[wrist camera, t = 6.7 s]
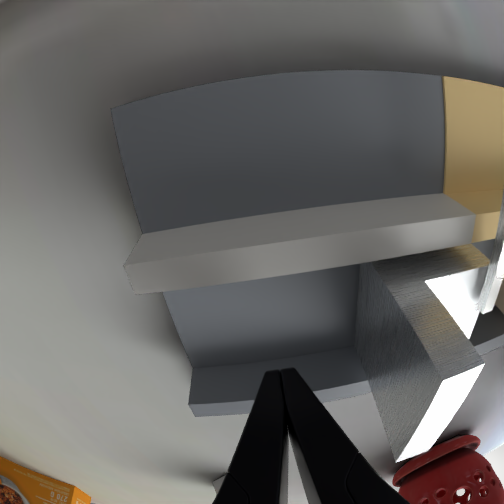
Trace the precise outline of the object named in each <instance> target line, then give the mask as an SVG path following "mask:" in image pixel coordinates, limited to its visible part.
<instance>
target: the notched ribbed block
mask: <svg viewBox="0 0 504 504" xmlns="http://www.w3.org/2000/svg"><path fill="white" fill-rule="evenodd" d="M503 277H504V189H503V197H502V204H501V210H500V216H499V222H498V227H497V233H496V237H495V242H494V247H493V251H492V255H491V259H490V260H489V259H488V258H487V257H486V256H485V255H484V254H483V253H482V252H480V251H479V250H478V249H477V248H476V247H475V246H473V245H472V244H471V243H470V244H465V245H460V246H454V247H449V248H444V249H439V250H433V251H428V252H422V253H417V254H411V255H406V256H400V257H394V258H389V259H383V260H377V261H371V262H365V263H360V265H359V285H358V301H357V314H356V325H355V336H354V346H355V348H356V351H357V354H358V356H359V359H360V361H361V364H362V367H363V369H364V372H365V375H366V377H367V380H368V383H369V386H370V388H371V391H372V394H373V397H374V399H375V402H376V405H377V408H378V411H379V414H380V417H381V419H382V422H383V425H384V428H385V431H386V434H387V437H388V440H389V444H390V447H391V450H392V453H393V456H394V459H395V462H399V461H402V460H405V459H408V458H410V457H413V456H416V455H419V454H421V453H424V452H427V451H428V450H429V449H430V448H431V447H432V445H433V444H434V443H435V441H436V440H437V439H438V437H439V436H440V435H441V433H442V432H443V431H444V429H445V428H446V426H447V425H448V423H449V422H450V421H451V419H452V418H453V416H454V415H455V413H456V412H457V410H458V409H459V407H460V405H461V404H462V402H463V401H464V399H465V398H466V396H467V394H468V393H469V391H470V389H471V388H472V386H473V384H474V382H475V381H476V379H477V377H478V375H479V373H480V372H481V370H482V368H483V366H484V364H485V363H484V361H483V360H482V358H481V357H480V355H479V354H478V352H477V351H476V349H475V348H474V346H473V345H472V343H471V342H470V341H469V338H470V336H471V333H472V330H473V328H474V325H475V323H476V320H477V317H478V314H479V312H481V313H482V314H484V313H487V312H490V311H492V310H493V307H494V304H495V301H496V298H497V296H498V293H499V290H500V287H501V283H502V280H503Z"/></svg>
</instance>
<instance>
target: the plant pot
mask: <svg viewBox="0 0 504 504" xmlns="http://www.w3.org/2000/svg"><path fill="white" fill-rule="evenodd" d="M479 445H480V439H479V438H478V437H476V436H473V435H463V436H459V435H458V436H456V437H454V438H453V439H450V440H448V441H445V442H443V443H441V444H438V445H436V446H434V447H432V448H430V449H429V450H428V451H427V452H424V453H421V454H419V455H417V456H416V457H414V458H413V459H411V460H410V461H409V462H407V463H406V464H405V465H403V466H402V467H401V468H400V469H399V470H398V471H397V472H396V474H395V475H394V478H393V481H392V483H393V485H394V486H396V487H400V489H399V492H398V493H399V494H400V495H401V496H402V497H404V498H405V499H406V500H407V501H408V502H409V503H411V504H456V503H460V504H504V489H503V486H502V484H501V482H500V480H499V478H498V477H497V475H496V474H495V472H494V470H493V469H492V467H491V464H490V463H489V462H488V461H487V460H486V459H485V458H484V457H483V456H482V455H481V454H479V453H477V452H476V451H475V450H476V449H477V448H478V446H479ZM480 478H481V482H479V479H480ZM462 488H464V489H465V493H464V495H462V496H458V495H457V494H456V491H457V490H459V489H462ZM485 491H486V493H485ZM479 493H480V494H479ZM469 494H470V500H469V501H468V496H469ZM480 495H481V496H480Z"/></svg>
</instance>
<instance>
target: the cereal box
mask: <svg viewBox="0 0 504 504" xmlns="http://www.w3.org/2000/svg"><path fill="white" fill-rule="evenodd" d="M90 502H91V497H90V496H88V495H87V494H86V493H84V492H83V491H81V490H80V489H78V488H77V487H76V486H73V485H70V484H67V483H64V482H61V481H58V480H55V479H53V478H50V477H47V476H44V475H42V474H39V473H37V472H34V471H32V470H29V469H27V468H25V467H22V466H20V465H18V464H16V463H14V462H11V461H9V460H7V459H5V458H3V457H1V456H0V504H90Z"/></svg>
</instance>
